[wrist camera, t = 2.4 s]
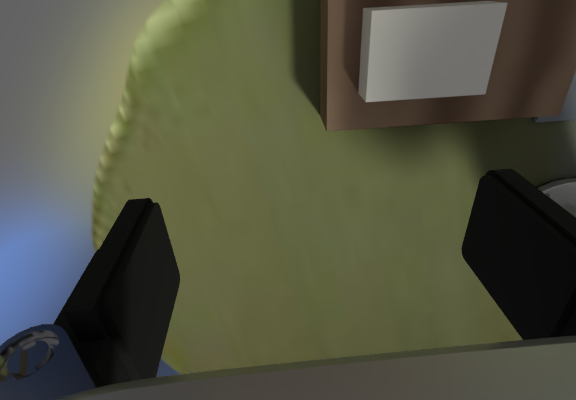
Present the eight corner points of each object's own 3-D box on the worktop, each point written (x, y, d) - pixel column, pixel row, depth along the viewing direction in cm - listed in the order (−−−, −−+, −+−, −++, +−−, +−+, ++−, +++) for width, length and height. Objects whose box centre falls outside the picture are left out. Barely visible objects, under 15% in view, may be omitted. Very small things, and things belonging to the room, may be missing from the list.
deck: (577, -53, 28) (622, -58, 24) (529, 101, 34) (559, 115, 31) (320, -39, 27) (328, -42, 24) (320, 115, 33) (326, 131, 30)
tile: (488, 0, 26) (507, 2, 24) (469, 86, 29) (485, 94, 27) (363, 8, 25) (372, 10, 23) (358, 93, 28) (365, 102, 26)
